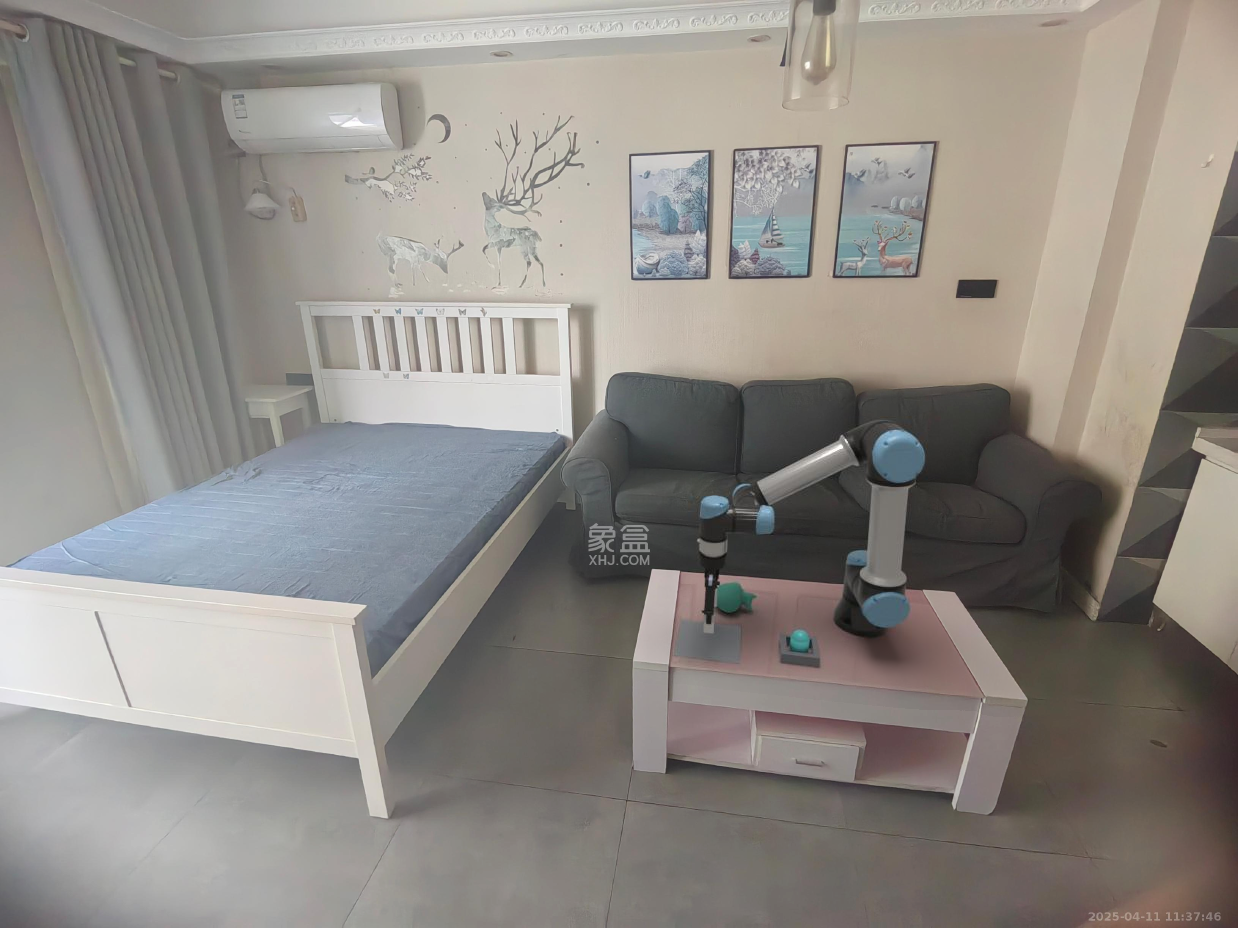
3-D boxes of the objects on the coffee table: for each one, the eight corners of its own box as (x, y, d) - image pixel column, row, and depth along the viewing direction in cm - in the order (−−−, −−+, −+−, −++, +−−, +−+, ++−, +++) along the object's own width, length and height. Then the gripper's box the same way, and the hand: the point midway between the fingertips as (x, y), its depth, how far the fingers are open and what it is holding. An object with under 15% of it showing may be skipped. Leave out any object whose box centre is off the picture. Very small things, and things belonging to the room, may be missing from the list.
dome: (807, 648, 173) (809, 627, 170) (808, 659, 168) (811, 637, 166) (789, 646, 174) (791, 625, 171) (789, 656, 169) (791, 635, 167)
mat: (741, 627, 184) (741, 626, 183) (739, 664, 167) (739, 663, 167) (681, 620, 187) (681, 619, 187) (673, 656, 171) (673, 655, 170)
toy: (759, 588, 195) (713, 574, 199) (757, 587, 185) (709, 573, 190) (751, 619, 193) (705, 604, 198) (749, 620, 184) (701, 605, 189)
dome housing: (815, 645, 175) (816, 636, 174) (818, 667, 165) (819, 658, 164) (779, 641, 177) (780, 632, 176) (780, 663, 167) (781, 653, 166)
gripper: (702, 531, 180) (701, 594, 187) (694, 571, 157) (692, 642, 164) (728, 533, 179) (726, 597, 185) (724, 574, 155) (721, 645, 162)
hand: (710, 618), depth 175 cm, fingers open, 13 cm apart
